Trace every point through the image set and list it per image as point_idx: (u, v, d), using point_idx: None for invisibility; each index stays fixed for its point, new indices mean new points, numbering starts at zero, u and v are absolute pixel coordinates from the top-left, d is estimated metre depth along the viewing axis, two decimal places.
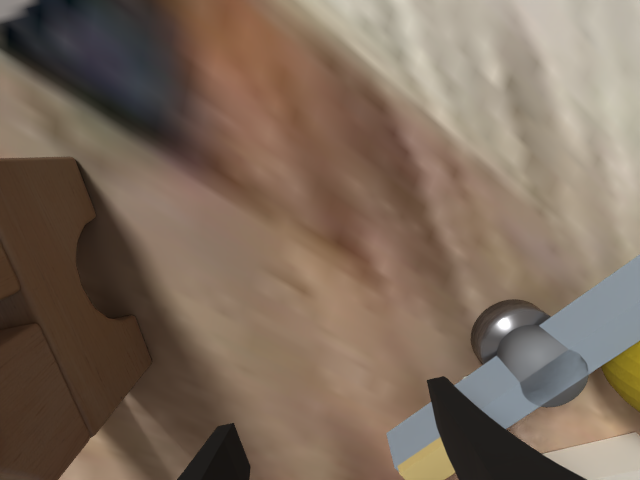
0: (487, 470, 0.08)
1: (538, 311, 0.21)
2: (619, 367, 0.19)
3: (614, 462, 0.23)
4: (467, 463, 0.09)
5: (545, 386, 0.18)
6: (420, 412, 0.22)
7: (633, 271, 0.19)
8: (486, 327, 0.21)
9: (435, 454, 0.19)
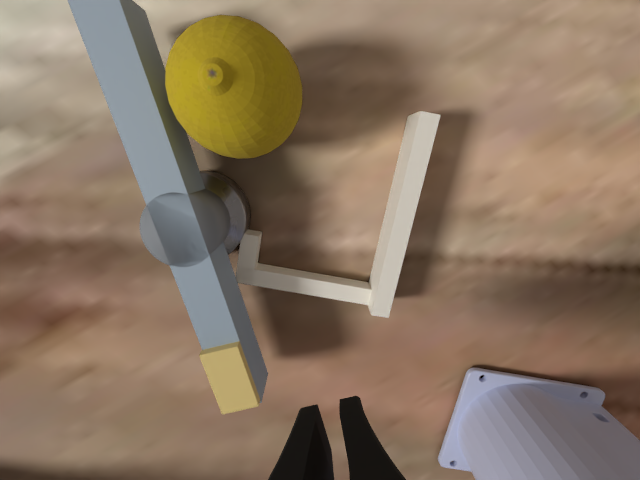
0: None
1: None
2: None
3: (402, 170, 0.18)
4: None
5: (185, 242, 0.16)
6: None
7: None
8: None
9: (212, 376, 0.18)
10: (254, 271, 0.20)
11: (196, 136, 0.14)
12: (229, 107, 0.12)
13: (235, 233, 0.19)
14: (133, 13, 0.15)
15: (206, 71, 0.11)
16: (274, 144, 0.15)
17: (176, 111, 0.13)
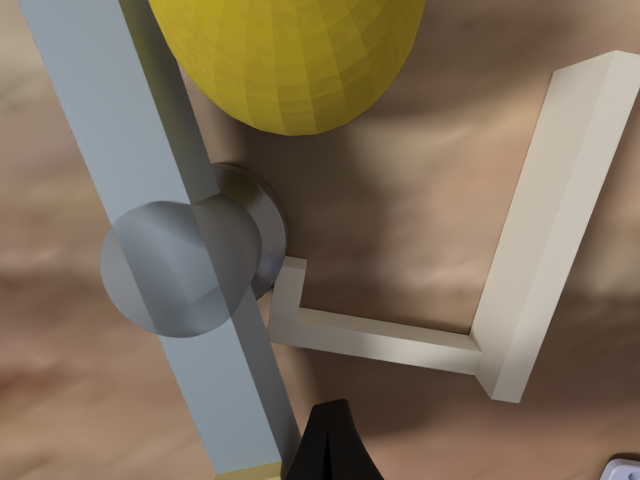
0: None
1: None
2: (237, 119, 0.08)
3: (558, 160, 0.11)
4: None
5: (186, 294, 0.09)
6: None
7: None
8: None
9: None
10: (296, 324, 0.13)
11: (210, 76, 0.06)
12: None
13: (269, 266, 0.11)
14: None
15: None
16: (367, 103, 0.07)
17: (164, 10, 0.05)
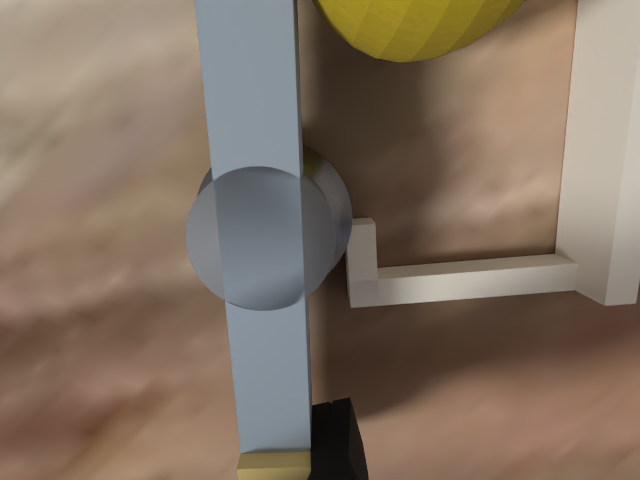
0: None
1: None
2: (385, 53, 0.08)
3: (618, 32, 0.10)
4: None
5: (267, 267, 0.08)
6: None
7: None
8: None
9: None
10: (378, 282, 0.12)
11: None
12: None
13: (339, 227, 0.11)
14: None
15: None
16: None
17: None
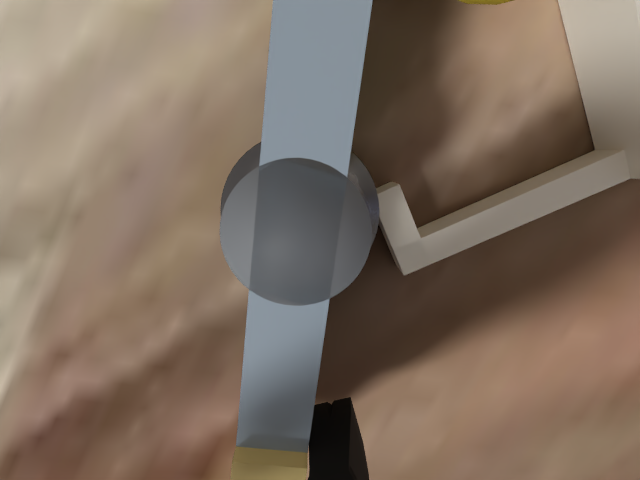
0: None
1: None
2: None
3: None
4: None
5: (298, 261, 0.08)
6: None
7: None
8: None
9: None
10: (422, 241, 0.12)
11: None
12: None
13: (366, 199, 0.11)
14: None
15: None
16: None
17: None
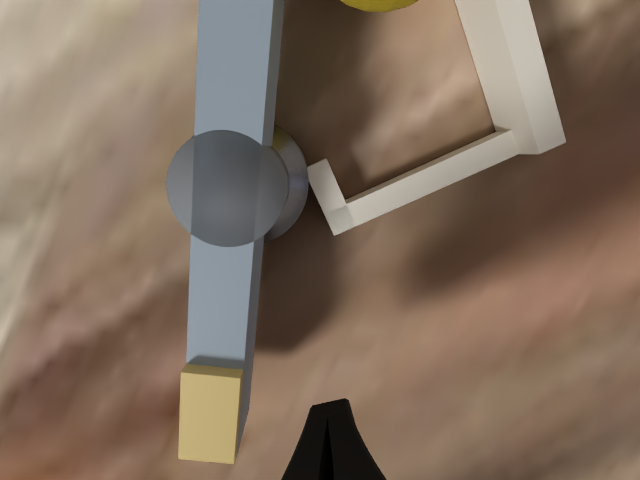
0: None
1: None
2: (398, 1, 0.10)
3: None
4: None
5: (227, 211, 0.11)
6: None
7: None
8: None
9: (187, 405, 0.12)
10: (348, 206, 0.14)
11: None
12: None
13: (296, 170, 0.13)
14: None
15: None
16: None
17: None
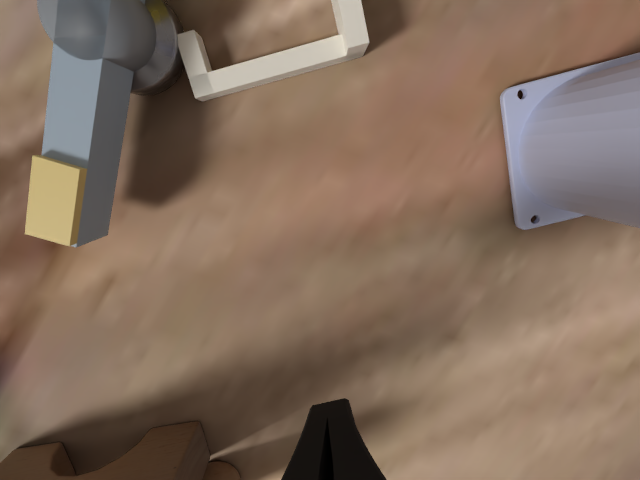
0: None
1: None
2: None
3: None
4: None
5: (83, 28, 0.14)
6: None
7: None
8: None
9: (35, 186, 0.15)
10: (208, 75, 0.18)
11: None
12: None
13: (165, 31, 0.17)
14: None
15: None
16: None
17: None
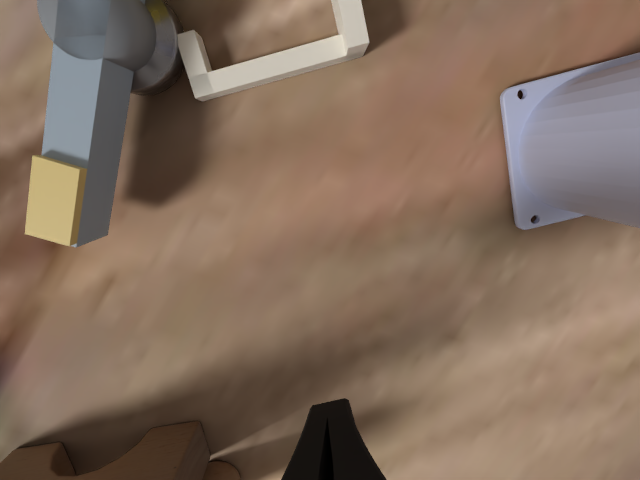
0: None
1: None
2: None
3: None
4: None
5: (83, 28, 0.14)
6: None
7: None
8: None
9: (35, 186, 0.15)
10: (208, 75, 0.18)
11: None
12: None
13: (165, 31, 0.17)
14: None
15: None
16: None
17: None
